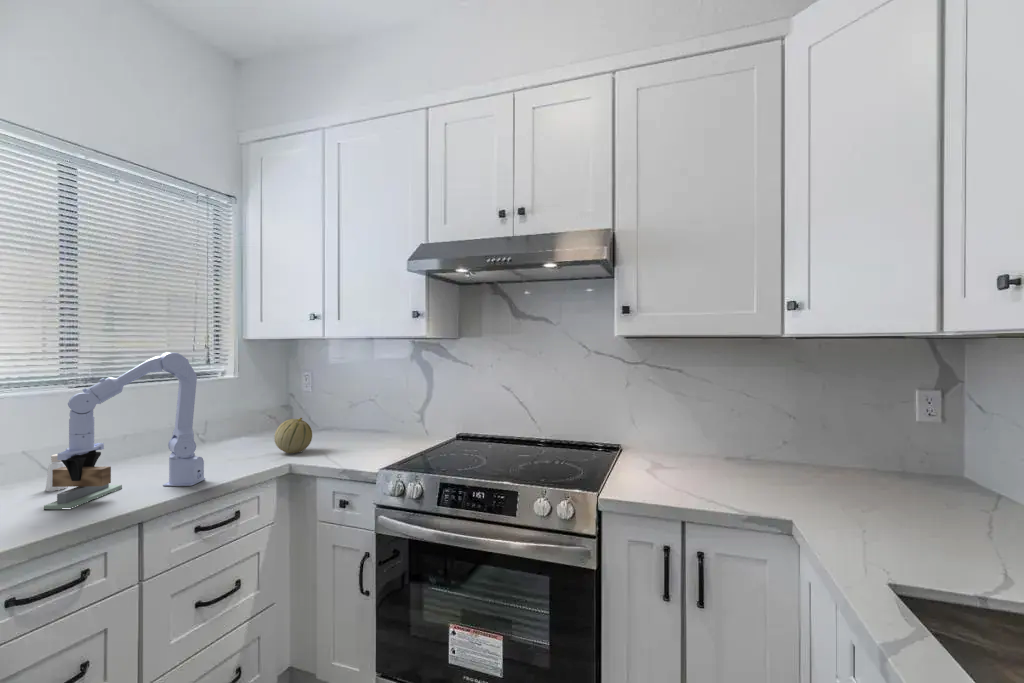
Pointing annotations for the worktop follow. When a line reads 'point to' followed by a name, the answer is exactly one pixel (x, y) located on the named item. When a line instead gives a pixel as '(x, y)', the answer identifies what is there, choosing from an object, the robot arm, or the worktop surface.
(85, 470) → the walnut bar
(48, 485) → the pepper shaker
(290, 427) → the cantaloupe
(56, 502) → the ridge stand
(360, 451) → the worktop surface
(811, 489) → the worktop surface
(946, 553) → the worktop surface
